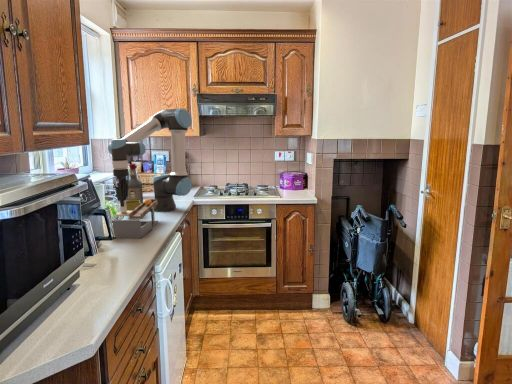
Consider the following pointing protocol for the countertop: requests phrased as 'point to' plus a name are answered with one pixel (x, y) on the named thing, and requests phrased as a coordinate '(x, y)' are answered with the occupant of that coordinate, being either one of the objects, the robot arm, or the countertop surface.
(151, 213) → the stand
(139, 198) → the liquor
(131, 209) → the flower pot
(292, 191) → the countertop surface
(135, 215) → the wooden chute
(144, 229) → the bin
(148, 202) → the ball
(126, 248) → the countertop surface
